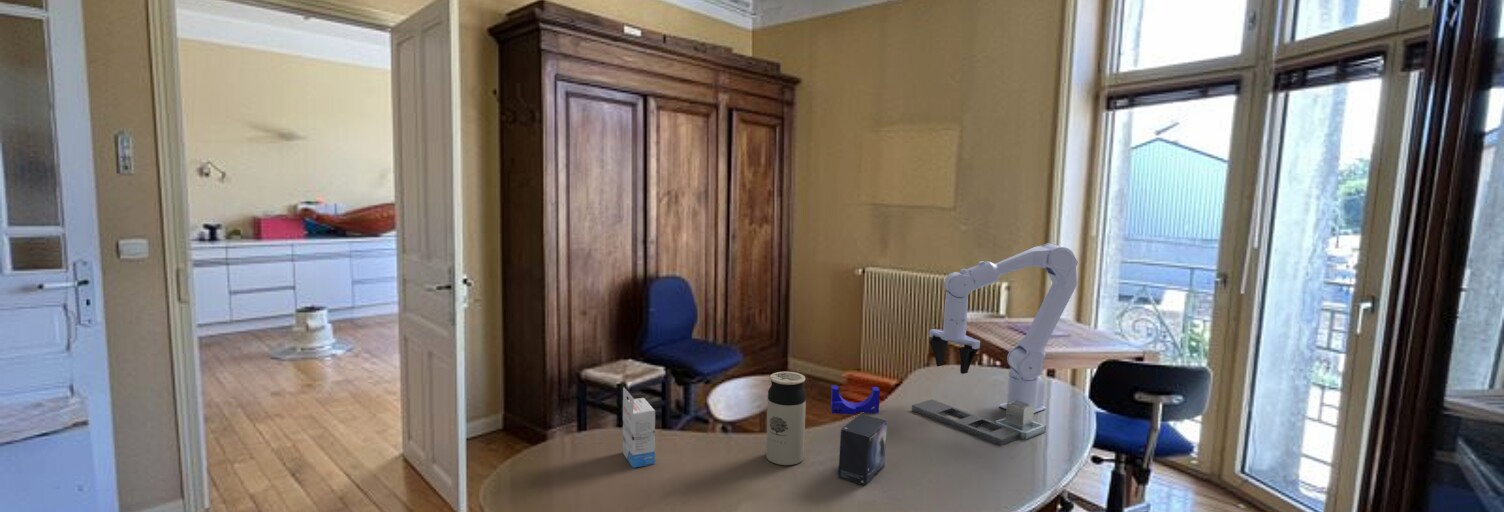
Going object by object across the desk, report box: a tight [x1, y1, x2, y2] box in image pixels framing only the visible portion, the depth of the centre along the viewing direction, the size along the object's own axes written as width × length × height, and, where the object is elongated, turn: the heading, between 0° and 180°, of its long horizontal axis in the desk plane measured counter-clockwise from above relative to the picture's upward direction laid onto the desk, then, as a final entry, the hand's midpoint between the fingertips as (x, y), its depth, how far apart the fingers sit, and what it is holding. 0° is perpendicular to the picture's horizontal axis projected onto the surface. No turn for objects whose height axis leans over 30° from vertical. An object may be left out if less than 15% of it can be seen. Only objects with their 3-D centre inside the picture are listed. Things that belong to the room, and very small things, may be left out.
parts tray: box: [993, 416, 1047, 441], centre depth 160 cm, size 8×8×2 cm
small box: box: [837, 413, 888, 486], centre depth 135 cm, size 11×6×10 cm, turn 148°
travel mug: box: [765, 371, 807, 466], centre depth 141 cm, size 8×8×18 cm
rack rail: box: [911, 399, 1022, 446], centre depth 164 cm, size 8×26×1 cm, turn 36°
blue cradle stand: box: [830, 384, 881, 415], centre depth 170 cm, size 12×4×6 cm, turn 88°
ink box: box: [622, 387, 656, 469], centre depth 139 cm, size 8×5×15 cm, turn 26°
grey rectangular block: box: [1005, 400, 1035, 432], centre depth 160 cm, size 4×4×6 cm
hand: (951, 369), depth 175 cm, fingers open, 7 cm apart
